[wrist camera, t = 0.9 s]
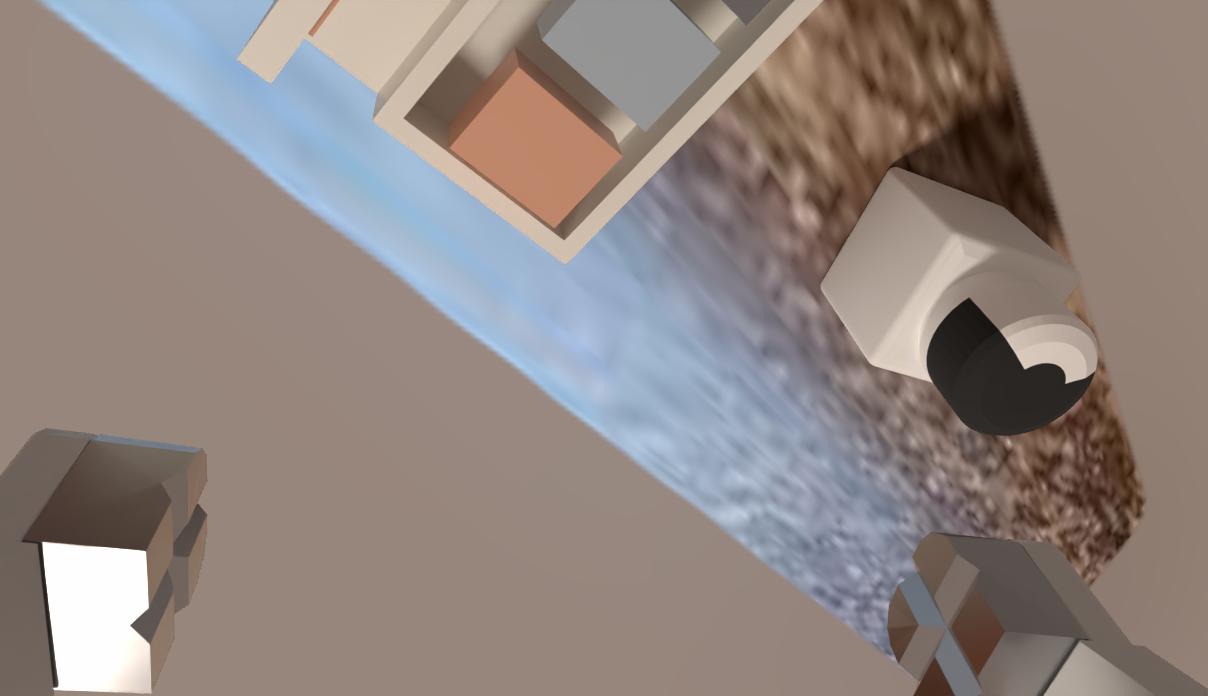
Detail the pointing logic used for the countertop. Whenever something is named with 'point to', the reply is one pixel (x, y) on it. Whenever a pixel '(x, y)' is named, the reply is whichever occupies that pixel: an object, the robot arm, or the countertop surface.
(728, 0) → the charcoal key
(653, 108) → the slate key
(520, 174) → the terracotta key
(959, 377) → the medicine bottle
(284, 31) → the cream open box
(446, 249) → the countertop surface
